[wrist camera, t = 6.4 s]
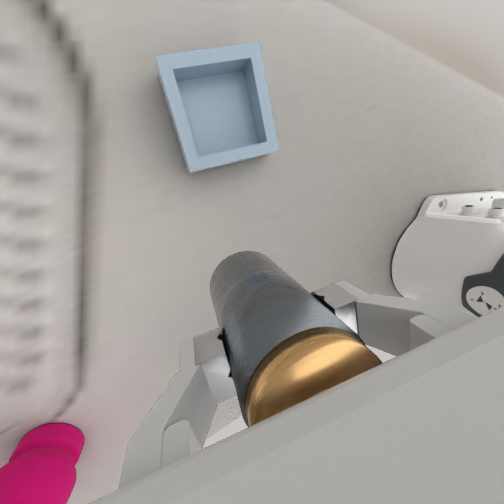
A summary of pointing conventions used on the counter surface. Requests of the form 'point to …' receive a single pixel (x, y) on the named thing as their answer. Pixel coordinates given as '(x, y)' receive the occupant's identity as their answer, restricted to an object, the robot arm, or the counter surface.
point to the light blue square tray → (219, 104)
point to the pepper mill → (42, 466)
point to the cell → (280, 337)
